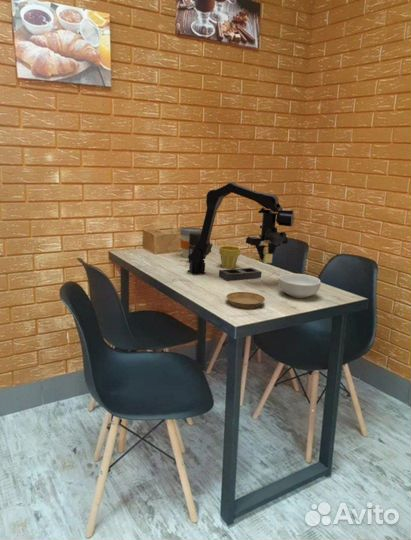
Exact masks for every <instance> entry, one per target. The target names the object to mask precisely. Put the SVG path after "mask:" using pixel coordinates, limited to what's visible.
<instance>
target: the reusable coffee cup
mask: <svg viewBox="0 0 411 540" xmlns="http://www.w3.org/2000/svg"><path fill="white" fill-rule="evenodd" d="M201 231H202V228H199V227H182V228H180V231H179V232H180V233H179V235H180V247H181V253H182V257H183V258H184V259H188V256H189V235H190V233H201Z"/></svg>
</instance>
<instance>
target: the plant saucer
mask: <svg viewBox="0 0 411 540" xmlns="http://www.w3.org/2000/svg"><path fill="white" fill-rule="evenodd" d="M225 296H226V297H225V298H226V299H227V301H229V303H230V304H231V305H233V306H235V307H238V308H240V309H241V308H242V309H244V308H245V309H255V308H258V307H260V306H261V305H262V304H263V303H264V302H265V301H266V298H265V297H264V296H263V295H260V294H258V293H254V292H247V291H235V292H230V293H228V294H227V295H225Z"/></svg>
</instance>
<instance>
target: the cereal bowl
mask: <svg viewBox="0 0 411 540" xmlns="http://www.w3.org/2000/svg"><path fill="white" fill-rule="evenodd" d="M278 286H279V288H280V290H282V292H284V293H285V294H288V295H289V296H290V297H293V298H297V299H305V298H308V297H310V296H313V295H315V294H316V293H318V292H319V290H320V287H321V280H320V278H319V277H316V276H313V275H309V274H304V273H284V274H281V275H279V276H278Z"/></svg>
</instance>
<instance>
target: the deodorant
mask: <svg viewBox="0 0 411 540" xmlns="http://www.w3.org/2000/svg"><path fill="white" fill-rule="evenodd" d="M200 235H201V233H190V235H189V255H190V254H191V253H193V250H194V247H195V245H196V243H197V242H198V240H199V239H200ZM187 259H188V258H187ZM187 262H188V264H190V261H189V259H188V261H187Z"/></svg>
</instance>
